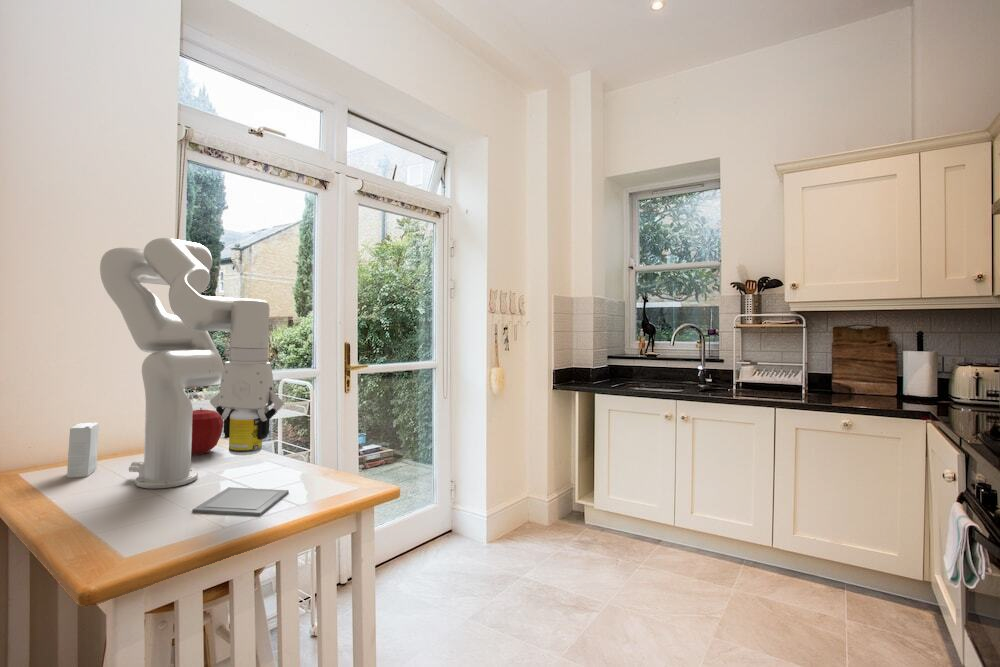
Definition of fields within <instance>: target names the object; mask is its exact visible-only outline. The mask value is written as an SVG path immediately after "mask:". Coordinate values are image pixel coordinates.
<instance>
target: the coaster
mask: <svg viewBox="0 0 1000 667" xmlns="http://www.w3.org/2000/svg"><path fill="white" fill-rule="evenodd" d="M289 491H290V490H288V489H287V490H286V489H269V488H267V489H266V488H249V487H248V488H247V487H231V486H230V487H227V488H225V489H223V490H222V491H220V492H218V493H217V494H215V495H214V496H212V497H210V498H209V499H207V500H206V501H204V502H202V503H200V504H199V505H198V506H196V507H194V508H192V510H191V512H192V513H198V514H199V513H200V514H215V515H216V514H218V515H221V514H222V515H239V516H240V515H241V516H242V515H243V516H255V517H256V516H262V515H263V514H264V513H265V512H267V511H268V510H269V509H270V508H271V507H273V506H274V505H275V504H277V503H278V502H279V501H281V500H282V498H284V497H286V496H287V495H288V494H289Z"/></svg>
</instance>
